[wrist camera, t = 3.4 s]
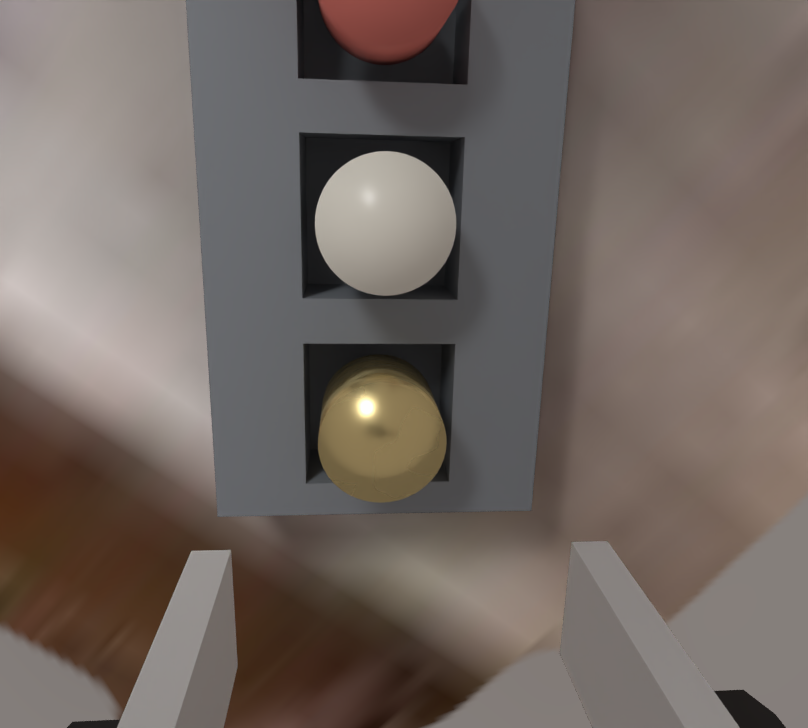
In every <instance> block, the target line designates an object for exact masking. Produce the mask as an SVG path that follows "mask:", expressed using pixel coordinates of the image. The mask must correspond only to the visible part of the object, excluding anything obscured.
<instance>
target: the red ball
mask: <svg viewBox="0 0 808 728" xmlns="http://www.w3.org/2000/svg"><path fill="white" fill-rule="evenodd" d="M457 2H458V0H318V3H319V8H320V12H321V15H322V18H323V21H324V23H325V25H326V27H327V29H328V31H329V32H330V34H331V36H332V37H333V38H334V39H335V41H336V42H337V43H338V44H339V45H340V46H341V47H342V48H343V49H344V50H345V51H347V52H348V53H349V54H351V55H352V56H354V57H356V58H357V59H360V60H362V61H364V62H367V63H371V64H376V65H394V64H399V63H402V62H405V61H408V60H410V59H412V58H414V57H416V56H417V55H419V54H420V53H422V52H423V51H424V50H425V49H426V48H427V47H428V46H429V45H430V44H431V43H432V42H433V41H434V39H435V38H436V36H437V35H438V33H439V32H440V30H441V28H442V27H443V25H444V24H445V22H446V20H447V19H448V17H449V16H450V14H451V12H452V11H453V9H454V8H455V6H456V4H457Z"/></svg>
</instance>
